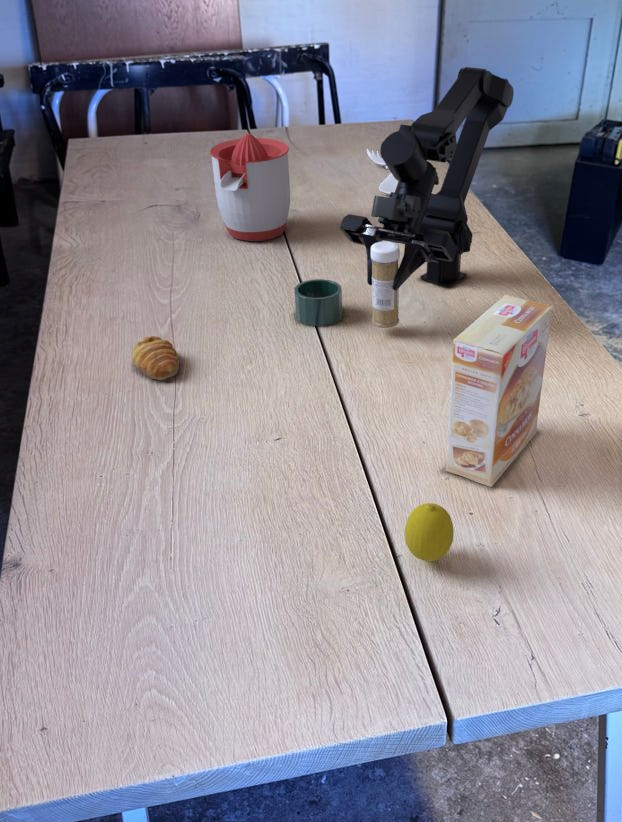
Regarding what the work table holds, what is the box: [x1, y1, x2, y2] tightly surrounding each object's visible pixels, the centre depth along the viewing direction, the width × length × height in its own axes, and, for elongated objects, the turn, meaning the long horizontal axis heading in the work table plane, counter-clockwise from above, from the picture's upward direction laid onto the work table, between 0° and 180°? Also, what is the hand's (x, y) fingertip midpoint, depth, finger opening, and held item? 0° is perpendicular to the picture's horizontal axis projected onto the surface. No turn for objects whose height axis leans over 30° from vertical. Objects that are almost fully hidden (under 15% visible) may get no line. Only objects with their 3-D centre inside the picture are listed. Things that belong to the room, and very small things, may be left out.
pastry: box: [131, 335, 180, 381], centre depth 137 cm, size 9×7×4 cm
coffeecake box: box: [445, 294, 554, 488], centre depth 113 cm, size 15×7×20 cm, turn 148°
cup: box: [293, 278, 343, 327], centre depth 151 cm, size 8×8×5 cm
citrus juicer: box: [209, 132, 291, 242], centre depth 177 cm, size 16×17×20 cm
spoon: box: [366, 148, 398, 196], centre depth 208 cm, size 9×32×4 cm, turn 7°
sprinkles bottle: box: [371, 240, 401, 329], centre depth 142 cm, size 5×5×14 cm
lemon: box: [404, 502, 454, 562], centre depth 99 cm, size 6×6×8 cm
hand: (381, 286), depth 140 cm, fingers closed on sprinkles bottle, 4 cm apart
